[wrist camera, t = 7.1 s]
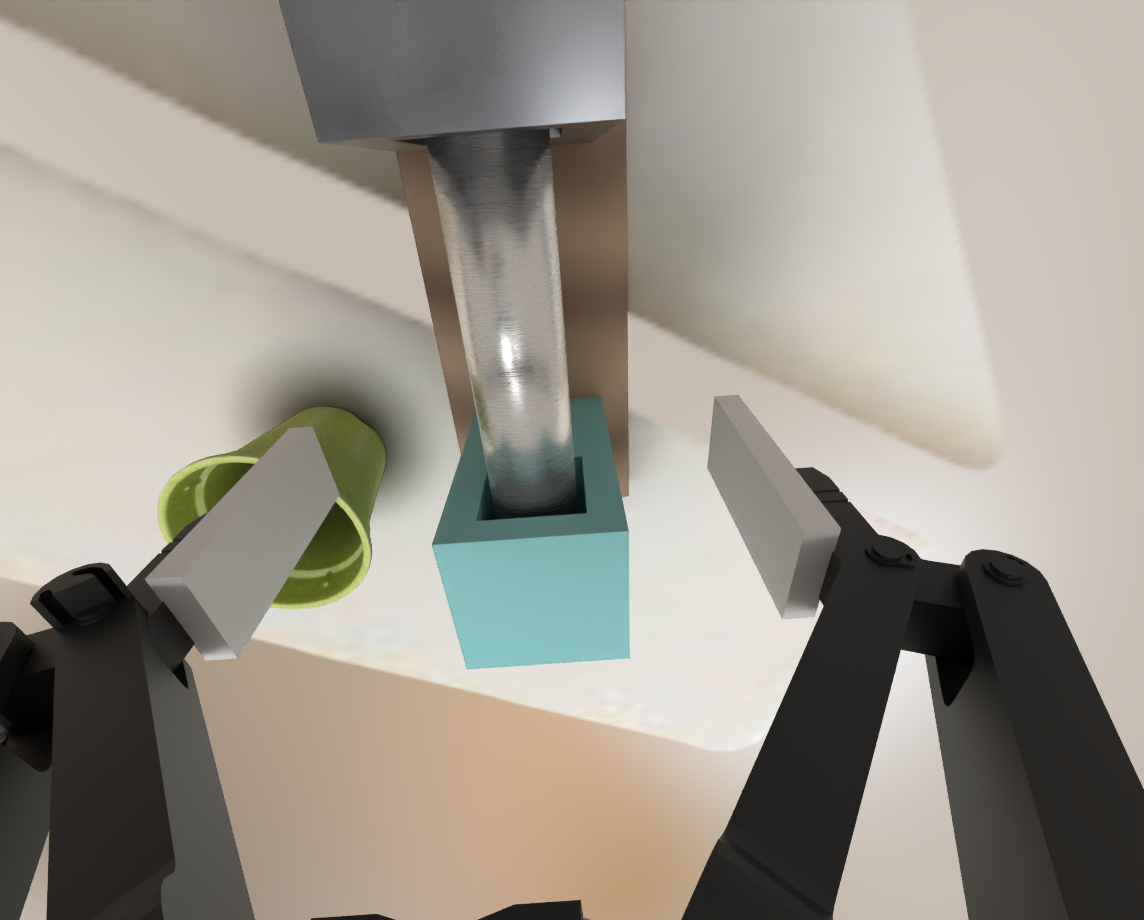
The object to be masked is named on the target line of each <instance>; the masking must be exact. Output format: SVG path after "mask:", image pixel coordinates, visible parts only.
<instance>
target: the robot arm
mask: <svg viewBox="0 0 1144 920" xmlns="http://www.w3.org/2000/svg"><path fill="white" fill-rule="evenodd" d="M707 468H708V470H709V472H710V474H711V476H712V478H713V480H714V482H715V484H716V486H717V488H718V490H719V492H720V494H721V496H722V498H723V500H724V502H725V504H726V506H727V508H728V510H729V512H730V514H731V516H732V518H733V520H734V522H735V524H736V526H737V528H738V530H739V532H740V534H741V536H742V538H743V540H744V542H745V544H746V546H747V548H748V551H749V553H750V555H751V557H752V559H753V561H754V563H755V565H756V567H757V569H758V571H759V573H760V575H761V577H762V579H763V581H764V583H765V585H766V587H767V589H768V591H769V593H770V595H771V597H772V599H773V601H774V603H775V605H776V607H777V609H778V611H779V613H780V615H781V617H782V619H793V618H807V617H815V614H816V610H817V607H818V604H819V600H821V602H822V604H823V605H824V607H823V609H822V611H821V614H820V616H819V618H818V621H817V623H816V625H815V627H814V630H813V632H812V634H811V636H810V639H809V641H808V643H807V646H806V648H805V650H804V652H803V655H802V657H801V659H800V661H799V664H798V666H797V668H796V671H795V673H794V675H793V677H792V680H791V682H790V684H789V686H788V689H787V691H786V693H785V696H784V698H783V700H782V702H781V705H780V707H779V709H778V711H777V714H776V716H775V718H774V721H773V723H772V725H771V727H770V730H769V732H768V734H767V736H766V739H765V741H764V743H763V746H762V748H761V750H760V752H759V755H758V757H757V759H756V761H755V764H754V766H753V768H752V770H751V773H750V775H749V777H748V780H747V782H746V784H745V787H744V789H743V791H742V793H741V796H740V798H739V800H738V802H737V805H736V807H735V809H734V811H733V814H732V816H731V818H730V820H729V823H728V825H727V827H726V829H725V831H724V833H723V834H722V836H721V837H720V838H719V839H718V841H717V843H716V845H715V847H714V849H713V851H712V853H711V855H710V857H709V859H708V861H707V863H706V866H705V868H704V870H703V872H702V875H701V877H700V879H699V881H698V884H697V886H696V888H695V890H694V893H693V895H692V897H691V899H690V902H689V904H688V906H687V908H686V910H685V913H684V915H683V917H682V920H833V910H834V905H835V900H836V897H837V893H838V889H839V885H840V881H841V877H842V873H843V870H844V866H845V862H846V858H847V854H848V851H849V846H850V843H851V839H852V835H853V831H854V827H855V824H856V820H857V816H858V812H859V808H860V804H861V800H862V797H863V793H864V789H865V785H866V781H867V778H868V774H869V770H870V766H871V762H872V758H873V754H874V751H875V747H876V742H877V739H878V735H879V731H880V728H881V724H882V720H883V716H884V712H885V708H886V704H887V701H888V697H889V693H890V689H891V685H892V681H893V678H894V674H895V670H896V666H897V662H898V658H899V655H900V651H901V650H906V651H912V652H916V653H921V654H925V658H926V663H927V669H928V676H929V682H930V688H931V693H932V700H933V706H934V712H935V718H936V724H937V730H938V736H939V742H940V749H941V754H942V761H943V766H944V772H945V779H946V785H947V791H948V797H949V803H950V809H951V815H952V821H953V827H954V833H955V839H956V845H957V852H958V857H959V863H960V869H961V876H962V882H963V888H964V894H965V900H966V906H967V912H968V918H969V920H1144V789H1143V787H1142V785H1141V782H1140V780H1139V778H1138V776H1137V774H1136V772H1135V770H1134V767H1133V765H1132V763H1131V761H1130V759H1129V757H1128V755H1127V752H1126V750H1125V748H1124V746H1123V744H1122V742H1121V740H1120V737H1119V735H1118V733H1117V731H1116V729H1115V727H1114V724H1113V722H1112V720H1111V718H1110V716H1109V713H1108V711H1107V709H1106V707H1105V705H1104V703H1103V700H1102V698H1101V696H1100V694H1099V692H1098V690H1097V688H1096V685H1095V683H1094V681H1093V679H1092V677H1091V675H1090V672H1089V670H1088V668H1087V666H1086V664H1085V662H1084V660H1083V657H1082V655H1081V653H1080V651H1079V649H1078V647H1077V644H1076V642H1075V640H1074V638H1073V636H1072V634H1071V632H1070V629H1069V627H1068V625H1067V623H1066V621H1065V619H1064V617H1063V614H1062V613H1061V610H1060V608H1059V606H1058V603H1057V601H1056V599H1055V597H1054V595H1053V593H1052V591H1051V588H1050V587H1049V584H1048V582H1047V580H1046V579H1045V578H1044V577H1043V575H1042V574H1041V572H1040V571H1038V570H1037V569H1036V568H1034V567H1033V566H1032V565H1030V564H1029V563H1028V562H1026V561H1024V560H1022V559H1019V558H1017V557H1015V556H1013V555H1010V554H1007V553H1003V552H1000V551H995V550H984V549H981V550H976V551H971V552H970V553H969V554H968V555H966V556H965V558H964V560H963V562H962V564H961V565H954V564H947V563H941V562H934V561H928V560H923V559H921V558H920V557H919V556H918V554H917V553H916V552H915V551H914V550H913V549H912V548H910V547H909V546H908V545H906V544H905V543H903V542H901V541H898V540H896V539H894V538H891V537H887V536H882V535H878V534H877V533H876V532H875V530H874V529H873V528H872V527H871V526H870V524H869V523H868V522H867V521H866V520H865V519H864V517H863V516H862V515H861V514H860V513H859V512H858V510H857V509H856V508H855V507H854V506H853V505H852V503H851V502H848V499H847V498H846V496H845V495H844V494H843V493H842V492H840V491H839V489H838V487H837V486H836V485H835V484H834V482H833V481H832V480H831V479H830V478H829V477H828V476H826V475H824V474H823V473H821V472H820V471H818V470H816V469H815V468H813V467H810V468H796V469H795V468H794V467H793V465H792V464H791V463H790V461H789V460H788V459H787V458H786V456H785V455H784V454H783V452H782V451H781V450H780V448H779V447H778V446H777V445H776V443H775V442H774V441H773V440H772V438H771V437H770V436H769V434H768V433H767V432H766V431H765V429H764V428H763V427H762V425H761V424H760V423H759V421H758V420H757V419H756V417H755V416H754V415H753V414H752V412H751V411H750V410H749V408H748V407H747V406H746V404H745V403H744V402H743V401H742V399H741V398H740V397H739V395H730V396H717V397H715V398H714V407H713V418H712V427H711V437H710V447H709V457H708V467H707ZM339 495H340V494H339V492H338V489H337V487H336V484H335V482H334V479H333V477H332V474H331V472H330V469H329V467H328V464H327V462H326V459H325V457H324V454H323V452H322V449H321V447H320V444H319V442H318V439H317V437H316V434H315V432H314V429H313V427H301V428H289V429H288V430H287V431H286V432H285V433H284V434H283V435H282V436H281V437H280V438H279V439H278V441H277V442H276V443H275V444H274V445H273V446H272V447H271V448H270V449H269V450H268V451H267V452H266V453H265V454H264V455H263V456H262V457H261V458H260V459H259V460H258V461H257V462H256V464H255V465H254V466H253V467H252V468H251V469H250V470H249V471H248V472H247V473H246V474H245V475H244V476H243V477H242V478H241V479H240V480H239V481H238V482H237V483H236V484H235V485H234V486H233V488H232V489H231V490H230V491H229V492H228V493H227V494H226V495H225V496H224V497H223V498H222V499H221V500H220V501H219V502H218V503H217V504H216V505H215V506H214V507H213V508H212V509H211V510H210V512H209V513H205V514H203V515H202V516H200V517H199V518H197V519H196V520H194V521H193V522H191V523H190V524H188V525H187V526H185V527H184V528H183V529H182V530H181V532H180V533H179V534H178V535H177V536H176V537H175V538H174V539H173V542H170V543H169V544H168V545H167V546H166V547H165V548H164V549H163V550H162V553H161V554H158V555H157V556H156V557H155V558H154V559H153V560H152V561H151V562H150V563H149V564H148V565H147V566H146V567H145V568H144V569H143V570H142V571H141V572H140V573H139V574H138V575H137V576H136V577H135V578H134V579H133V580H132V581H131V582H130V583H129V584H128V585H127V586H126V585H125V584H124V582H123V581H122V580H121V578H120V577H119V576H118V575H117V573H116V572H115V571H114V570H113V568H112V567H111V566H110V565H109V564H105V563H94V564H87V565H84V566H81V567H78V568H75V569H72V570H70V571H68V572H66V573H64V574H62V575H60V576H58V577H56V578H55V579H53V580H52V581H50V582H49V583H47V584H46V585H44V586H43V587H42V588H41V589H40V590H39V591H38V592H37V593H36V594H35V595H34V596H33V598H32V600H31V602H30V604H31V605H32V606H33V607H34V608H35V609H36V610H37V611H38V612H39V613H40V614H41V615H42V617H43V618H44V619H45V620H46V621H47V622H48V623H49V624H50V625H51V626H52V627H53V628H51V629H47V630H44V631H40V632H37V633H34V634H30V635H25V634H24V633H23V632H22V631H21V630H20V629H19V628H18V627H17V626H16V625H15V624H14V623H12V622H0V920H19V919H20V916H21V913H22V910H23V907H24V904H25V901H26V898H27V895H28V892H29V889H30V886H31V883H32V880H33V877H34V874H35V871H36V868H37V865H38V862H39V859H40V856H41V853H42V850H43V847H44V844H45V841H46V838H47V835H48V832H50V833H49V863H48V892H47V920H255V918H254V914H253V910H252V906H251V902H250V898H249V894H248V890H247V886H246V882H245V878H244V874H243V871H242V867H241V863H240V859H239V855H238V851H237V847H236V843H235V839H234V835H233V831H232V827H231V823H230V819H229V815H228V811H227V807H226V803H225V799H224V795H223V791H222V788H221V784H220V780H219V776H218V772H217V768H216V764H215V760H214V756H213V752H212V748H211V744H210V741H209V736H208V732H207V728H206V725H205V720H204V716H203V712H202V709H201V705H200V701H199V697H198V693H197V689H196V685H195V681H194V677H193V673H192V669H191V667H190V666H189V664H188V663H187V662H186V661H185V660H184V658H185V656H186V655H187V654H188V652H189V651H190V650H191V648H192V647H193V645H195V647H196V648H197V649H198V651H199V652H200V653H201V655H202V656H203V657H204V659H205V660H206V661H207V660H221V659H236V658H238V657H239V655H240V654H241V652H242V651H243V649H244V647H245V646H246V644H247V643H248V641H249V639H250V638H251V636H252V634H253V633H254V631H255V630H256V628H257V626H258V625H259V623H260V622H261V620H262V618H263V617H264V615H265V614H266V612H267V610H268V609H269V607H270V606H271V604H272V602H273V601H274V599H275V598H276V596H277V594H278V593H279V591H280V590H281V588H282V586H283V585H284V583H285V582H286V580H287V578H288V577H289V575H290V574H291V572H292V570H293V569H294V567H295V566H296V564H297V562H298V561H299V559H300V557H301V556H302V554H303V553H304V551H305V549H306V548H307V546H308V545H309V543H310V541H311V540H312V538H313V537H314V535H315V533H316V532H317V530H318V529H319V527H320V525H321V524H322V522H323V521H324V519H325V517H326V516H327V514H328V513H329V511H330V509H331V508H332V506H333V505H334V503H335V501H336V500H337V498H338V497H339ZM49 829H50V830H49ZM311 920H394V919H391V918H388V917H385V916H382V915H378V914H370V915H355V916H341V917H327V918H312V919H311ZM478 920H589V919H586V918H583V912H582V906H581V900H574V901H560V902H545V903H531V904H516V905H512V906H510V907H507V908H505V909H502V910H500V911H498V912H496V913H493V914H491V915H488V916H486V917H483V918H481V919H478Z"/></svg>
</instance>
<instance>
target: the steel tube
mask: <svg viewBox="0 0 1144 920" xmlns="http://www.w3.org/2000/svg"><path fill="white" fill-rule="evenodd" d="M425 139H426V144H427V150H428V155H429V160H430V166H431V171H432V177H433V182H434V187H435V193H436V198H437V204H438V209H439V214H440V220H441V225H442V230H443V236H444V241H445V247H446V252H447V257H448V263H449V268H450V274H451V279H452V284H453V290H454V295H455V300H456V306H457V311H458V317H459V322H460V327H461V333H462V338H463V344H464V349H465V354H466V360H467V365H468V370H469V376H470V381H471V387H472V392H473V397H474V403H475V408H476V413H477V419H478V424H479V430H480V435H481V440H482V446H483V451H484V457H485V462H486V467H487V473H488V478H489V483H490V489H491V494H492V500H493V505H494V510H495V516H496V520H500V519H514V518H528V517H542V516H556V515H570V514H578V504H577V491H576V478H575V464H574V451H573V438H572V424H571V411H570V397H569V384H568V371H567V357H566V344H565V331H564V317H563V304H562V291H561V277H560V264H559V250H558V237H557V224H556V210H555V197H554V184H553V170H552V157H551V144H550V130H549V129H536V130H523V131H510V132H498V133H485V134H472V135H459V136H447V137H434V138H425Z"/></svg>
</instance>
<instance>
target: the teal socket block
mask: <svg viewBox="0 0 1144 920" xmlns="http://www.w3.org/2000/svg"><path fill="white" fill-rule="evenodd" d="M570 411H571V424H572V438H573V451H574V464H575V478H576V491H577V504H578V514H570V515H556V516H542V517H528V518H514V519H500V520H496V516H495V510H494V505H493V500H492V494H491V489H490V483H489V478H488V473H487V467H486V462H485V457H484V451H483V446H482V440H481V435H480V430H479V424H478V419H477V413H476V412H475V415H474V418H473V421H472V424H471V427H470V430H469V433H468V436H467V439H466V443H465V446H464V449H463V452H462V455H461V458H460V461H459V464H458V467H457V470H456V473H455V476H454V479H453V482H452V485H451V488H450V491H449V495H448V498H447V501H446V504H445V507H444V510H443V513H442V516H441V519H440V522H439V525H438V528H437V531H436V534H435V537H434V540H433V543H432V547H433V550H434V554H435V557H436V561H437V565H438V568H439V572H440V575H441V579H442V582H443V586H444V589H445V593H446V597H447V600H448V604H449V607H450V611H451V614H452V618H453V621H454V625H455V628H456V632H457V636H458V639H459V643H460V646H461V650H462V653H463V657H464V660H465V664H466V667H467V669H480V668H494V667H509V666H523V665H538V664H552V663H567V662H581V661H596V660H610V659H625V658H630V648H629V531H628V526H627V521H626V516H625V511H624V506H623V501H622V496H621V491H620V486H619V481H618V476H617V471H616V467H615V462H614V457H613V452H612V447H611V442H610V437H609V432H608V427H607V422H606V417H605V412H604V407H603V402H602V397H591V398H577V399H570Z"/></svg>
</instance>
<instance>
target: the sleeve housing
mask: <svg viewBox="0 0 1144 920" xmlns="http://www.w3.org/2000/svg"><path fill="white" fill-rule="evenodd" d="M279 4H280V7H281V11H282V14H283V18H284V22H285V25H286V29H287V32H288V36H289V39H290V43H291V46H292V50H293V54H294V57H295V61H296V64H297V68H298V71H299V75H300V78H301V82H302V85H303V89H304V93H305V96H306V100H307V103H308V107H309V110H310V114H311V117H312V121H313V125H314V128H315V132H316V135H317V139H318V142H319V143H326V144H335V145H344V146H353V147H362V148H371V149H381V150H390V151H399V152H408V153H417V154H427V155H428V150H427V144H426V139H425V138H434V137H447V136H459V135H472V134H485V133H498V132H510V131H523V130H536V129H549V130H550V144H551V146H554V145H567V144H580V143H592V142H593V141H595V140H596V139H597V138H599V137H600V136H602V135H603V134H605V133H606V132H607V131H609V130H610V129H612V128H613V127H614V126H616V125H617V124H619V123H620V122H621V121H623V120H624V119H625V1H624V0H279Z"/></svg>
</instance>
